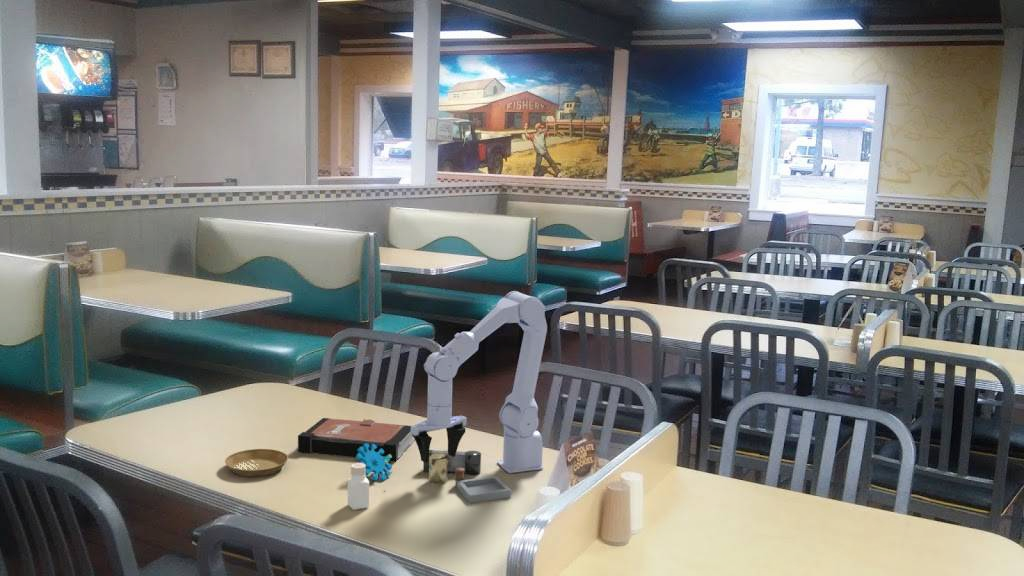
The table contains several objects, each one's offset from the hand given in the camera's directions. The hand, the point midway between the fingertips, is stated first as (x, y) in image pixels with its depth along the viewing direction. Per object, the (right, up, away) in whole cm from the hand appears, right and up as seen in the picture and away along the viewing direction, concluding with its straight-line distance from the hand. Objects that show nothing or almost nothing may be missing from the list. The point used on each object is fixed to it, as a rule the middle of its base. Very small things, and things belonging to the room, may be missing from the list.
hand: (438, 458), depth 209 cm
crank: (+3, -4, +7) cm, 9 cm away
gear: (-15, -5, +3) cm, 16 cm away
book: (-23, -2, +23) cm, 33 cm away
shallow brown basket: (-45, -4, +5) cm, 45 cm away
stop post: (+5, -6, -1) cm, 8 cm away
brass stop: (0, -6, +1) cm, 6 cm away
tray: (+11, -7, -5) cm, 14 cm away
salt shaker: (-16, -8, -15) cm, 24 cm away
